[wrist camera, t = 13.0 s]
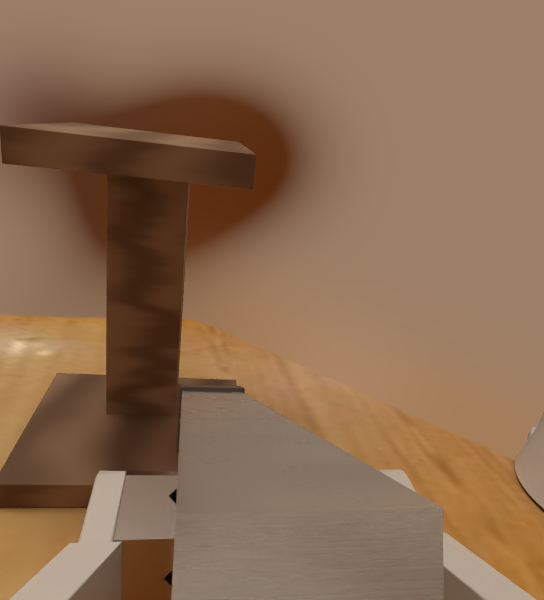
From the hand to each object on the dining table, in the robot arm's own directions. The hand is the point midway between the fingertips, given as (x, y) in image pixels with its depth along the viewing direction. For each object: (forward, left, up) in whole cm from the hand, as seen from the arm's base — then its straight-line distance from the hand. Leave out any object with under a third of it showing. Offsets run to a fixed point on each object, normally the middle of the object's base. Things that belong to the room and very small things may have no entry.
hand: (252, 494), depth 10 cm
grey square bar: (0, -5, -5) cm, 7 cm away
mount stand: (+5, -30, -21) cm, 37 cm away
